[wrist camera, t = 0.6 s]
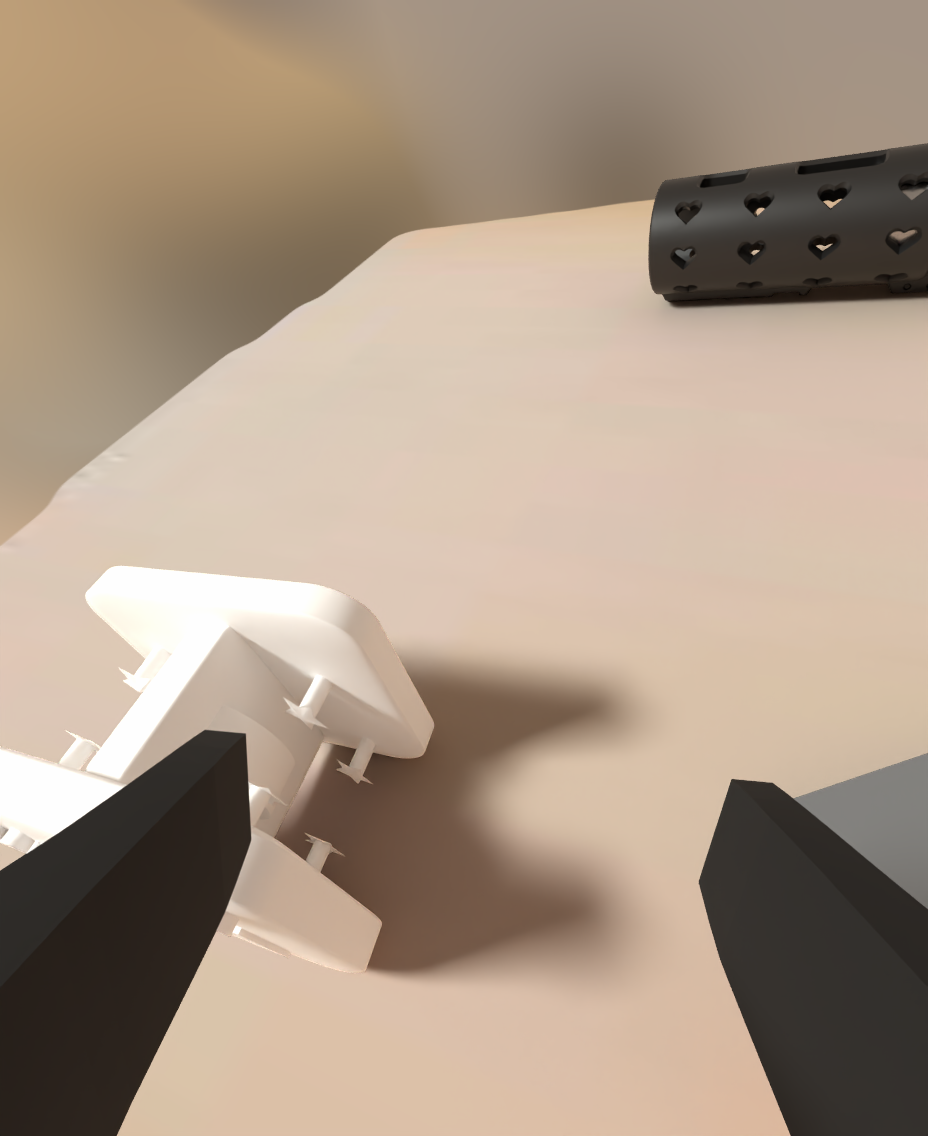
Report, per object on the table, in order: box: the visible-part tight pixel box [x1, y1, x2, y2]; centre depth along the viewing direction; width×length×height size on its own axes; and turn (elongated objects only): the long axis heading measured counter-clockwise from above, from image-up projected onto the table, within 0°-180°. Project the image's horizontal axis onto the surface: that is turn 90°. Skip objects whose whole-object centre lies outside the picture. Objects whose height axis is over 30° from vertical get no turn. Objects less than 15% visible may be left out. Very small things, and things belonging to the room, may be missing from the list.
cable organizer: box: [0, 566, 434, 973], centre depth 23 cm, size 15×11×12 cm
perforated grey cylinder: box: [649, 143, 928, 301], centre depth 45 cm, size 10×28×10 cm, turn 63°
